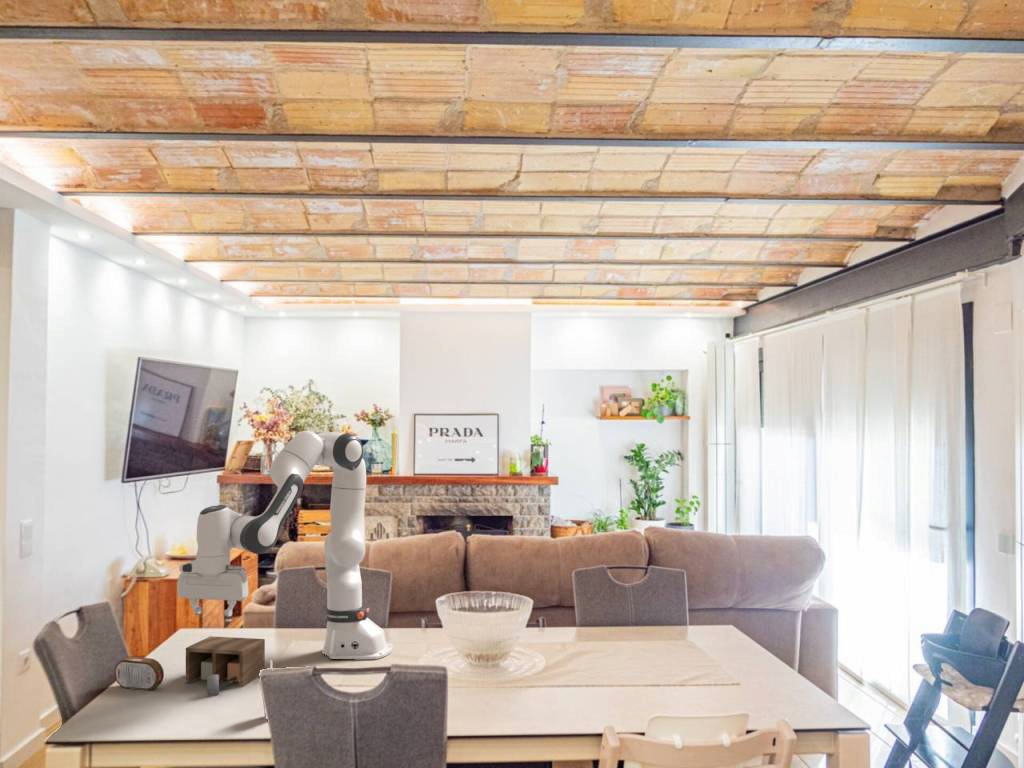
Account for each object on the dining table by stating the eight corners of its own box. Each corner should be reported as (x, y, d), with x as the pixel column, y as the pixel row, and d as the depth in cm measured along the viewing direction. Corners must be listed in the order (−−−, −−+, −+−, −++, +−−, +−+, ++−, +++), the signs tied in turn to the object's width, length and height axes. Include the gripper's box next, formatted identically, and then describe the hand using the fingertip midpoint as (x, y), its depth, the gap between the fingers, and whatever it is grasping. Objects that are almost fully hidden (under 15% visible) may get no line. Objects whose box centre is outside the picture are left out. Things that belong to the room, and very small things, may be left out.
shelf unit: (264, 672, 232) (264, 639, 233) (242, 686, 221) (242, 650, 221) (210, 669, 236) (210, 636, 237) (185, 683, 224) (185, 647, 225)
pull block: (254, 674, 231) (254, 657, 231) (218, 696, 213) (218, 678, 213) (238, 673, 232) (239, 656, 232) (201, 695, 214) (201, 677, 214)
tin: (164, 688, 220) (164, 658, 221) (156, 692, 217) (156, 661, 218) (120, 684, 224) (120, 654, 225) (112, 688, 221) (112, 658, 222)
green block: (228, 673, 233) (228, 656, 233) (216, 680, 227) (216, 662, 227) (213, 672, 234) (213, 655, 234) (201, 679, 228) (201, 662, 228)
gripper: (253, 564, 217) (252, 614, 217) (188, 561, 222) (187, 610, 221) (240, 568, 211) (240, 619, 210) (174, 565, 215) (173, 616, 215)
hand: (212, 615), depth 216 cm, fingers open, 8 cm apart
